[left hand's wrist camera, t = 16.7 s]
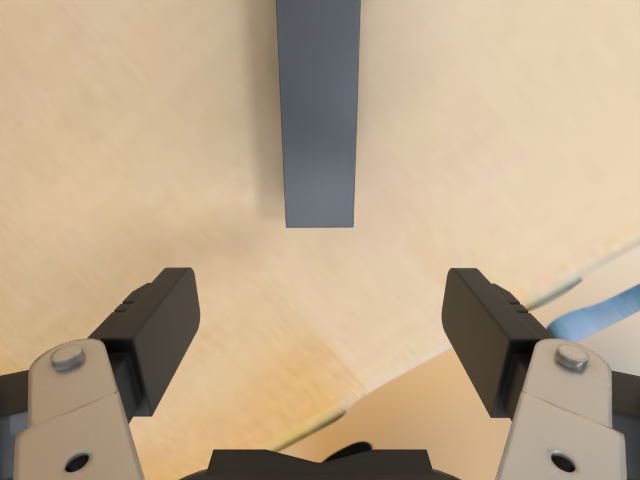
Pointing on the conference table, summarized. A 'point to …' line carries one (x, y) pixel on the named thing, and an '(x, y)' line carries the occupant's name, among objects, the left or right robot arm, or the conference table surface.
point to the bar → (318, 109)
